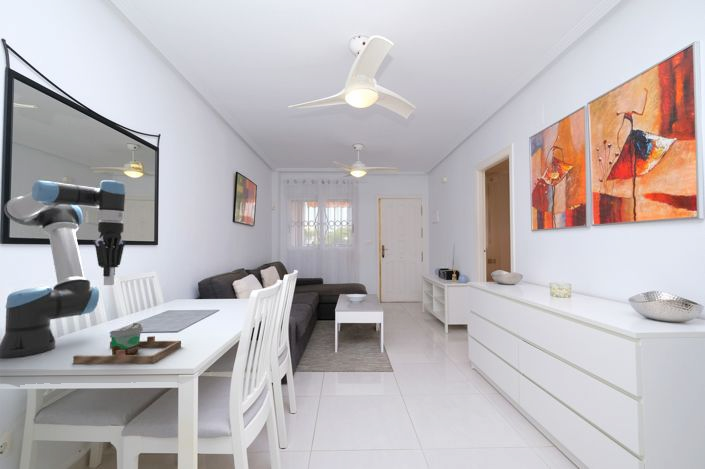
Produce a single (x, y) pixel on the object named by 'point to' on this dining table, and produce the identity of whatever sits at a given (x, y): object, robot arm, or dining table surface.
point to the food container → (126, 339)
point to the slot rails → (123, 358)
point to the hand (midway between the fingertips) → (108, 284)
